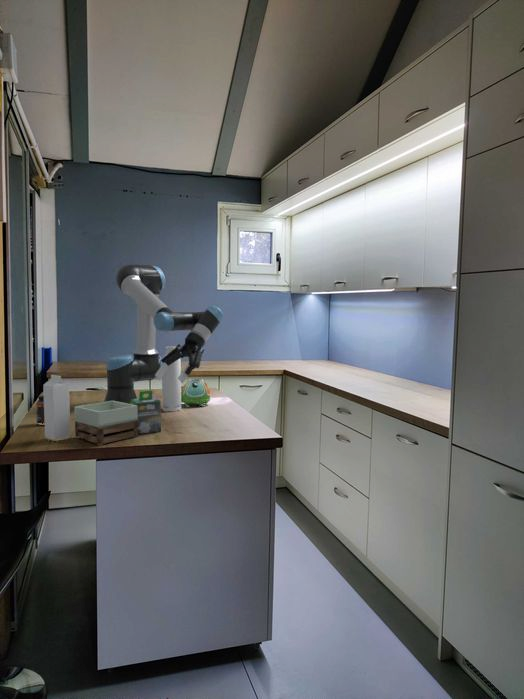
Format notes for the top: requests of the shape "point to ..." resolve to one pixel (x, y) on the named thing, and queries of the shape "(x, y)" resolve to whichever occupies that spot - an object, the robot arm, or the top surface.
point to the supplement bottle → (40, 409)
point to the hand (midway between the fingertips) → (168, 379)
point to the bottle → (171, 385)
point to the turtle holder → (195, 392)
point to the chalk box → (148, 413)
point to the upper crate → (106, 413)
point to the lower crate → (106, 432)
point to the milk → (56, 408)
